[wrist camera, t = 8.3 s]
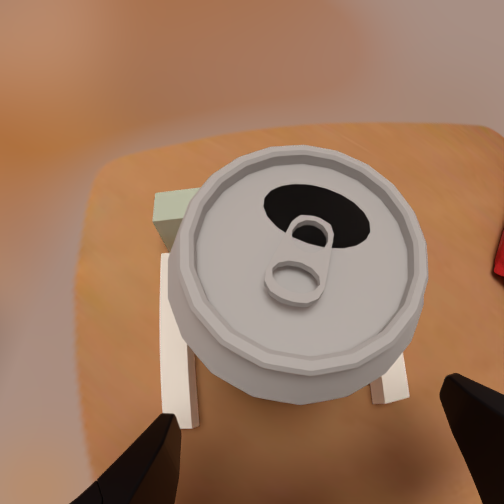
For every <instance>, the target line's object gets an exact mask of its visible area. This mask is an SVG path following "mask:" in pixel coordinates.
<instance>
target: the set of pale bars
mask: <svg viewBox="0 0 504 504" xmlns="http://www.w3.org/2000/svg"><path fill="white" fill-rule="evenodd" d="M199 189H200V188H193V189H185V190H177V191H169V192H161V193H155V202H154V212H153V223H154V225H155V227H156V229H157V231H158V233H159V234H160V236H161V238H162V240H163V242H164V243H165V245H166V247H167V249H168V251H169V252H171V249H172V246H173V244H174V241H175V238H176V235H177V232H178V230H179V227H180V224H181V222H182V219H183V217H184V214H185V212H186V209H187V206H188V204H189V201H190V200H191V199H192V198H193V196H194V195H195V194H196V193H197V191H198V190H199ZM169 255H170V253H163V254H161V274H160V370H161V393H162V410H163V413H173V414H175V416H176V418H177V421H178V424H179V427H180V429H193V428H195V427H197V426H200V425H199V413H198V400H197V386H196V369H195V353H194V352H193V351H192V349H191V348H190V347H189V346H188V345H187V343H186V342H185V341H184V340H183V338H182V336H181V334H180V331H179V328H178V325H177V323H176V320H175V317H174V314H173V312H172V309H171V306H170V303H169V300H168V258H169ZM370 387H371V394H372V402H373V404H386V403H390V402H394V401H398V400H401V399H405V398H408V397H409V389H408V382H407V376H406V369H405V363H404V358H403V353H402V354H401V355H400V356H399V358H398V359H397V360H396V361H395V363H394V364H393V365H392V366H391V367H390V369H389V370H388V371H387V372H386V373H385V374H384V375H382V376H381V377H379V378H378V379H376V380H374V381H373V382H371V383H370Z"/></svg>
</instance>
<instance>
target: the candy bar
mask: <svg viewBox="0 0 504 504" xmlns="http://www.w3.org/2000/svg"><path fill="white" fill-rule="evenodd" d="M494 263H495V268H494V273H496V274H499V275H501V276H504V230H503V233H502V237H501V240H500V244H499V247H498V250H497V254H496V258H495V262H494Z"/></svg>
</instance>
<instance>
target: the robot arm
mask: <svg viewBox="0 0 504 504" xmlns="http://www.w3.org/2000/svg"><path fill="white" fill-rule="evenodd" d="M440 400H441V403H442V406H443V408H444V411H445V414H446V417H447V420H448V422H449V425H450V428H451V431H452V433H453V435H454V438H455V440H456V442H457V444H458V446H459V448H460V450H461V453H462V455H463V457H464V459H465V462H466V464H467V466H468V469H469V471H470V473H471V476H472V478H473V480H474V483H475V485H476V488H477V490H478V493H479V495H480V498H481V500H482V503H483V504H504V395H503V394H501V393H499V392H497V391H494V390H492V389H490V388H488V387H486V386H484V385H481V384H479V383H477V382H475V381H473V380H471V379H469V378H466V377H464V376H462V375H460V374H458V373H453V374H450V375H447V376H446V377H445V379H444V382H443V385H442V388H441V390H440ZM180 450H181V429H180V427H179V424H178V421H177V418H176V416H175V414H173V413H162V414H160V415H159V416H158V417H157V418H156V420H155V421H154V422H153V423H152V424H151V425H150V426H149V427H148V428H147V429H146V430H145V431H144V432H143V433H142V434H141V435H140V436H139V437H138V438H137V439H136V440H135V441H134V443H133V444H132V445H131V446H130V447H129V448H128V449H127V450H126V451H125V452H124V453H123V454H122V455H121V456H120V457H119V458H118V459H117V460H116V461H115V462H114V463H113V464H112V465H111V466H110V467H109V468H108V469H107V470H106V471H105V472H104V473H103V474H102V475H101V476H100V477H99V478H98V479H97V481H95V482H94V483H93V484H92V485H91V486H90V487H89V488H87V489H86V490H85V491H84V492H83V493H82V494H81V495H80V496H79V497H78V498H76V499H75V500H74V501H72V502H71V503H70V504H174V503H175V497H176V491H177V486H178V480H179V470H180Z"/></svg>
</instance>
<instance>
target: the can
mask: <svg viewBox="0 0 504 504" xmlns="http://www.w3.org/2000/svg"><path fill="white" fill-rule="evenodd" d="M427 282H428V259H427V244H426V241H425V238H424V236H423V233H422V230H421V228H420V225H419V222H418V220H417V217H416V215H415V212H414V211H413V209H412V208H411V207H410V205H409V204H408V203H407V201H406V200H405V199H404V197H403V196H402V195H401V193H400V192H399V191H398V190H397V188H396V187H395V186H394V185H393V184H392V183H391V182H390V181H388V180H387V179H386V178H384V177H383V176H382V175H381V174H379V173H378V172H377V171H375V170H374V169H373V168H371V167H370V166H369V165H367V164H365V163H363V162H361V161H359V160H357V159H354V158H352V157H350V156H348V155H345V154H343V153H341V152H338V151H335V150H330V149H324V148H319V147H313V146H307V145H293V146H277V147H269V148H265V149H262V150H259V151H256V152H253V153H250V154H247V155H244V156H241V157H238V158H237V159H235V160H233V161H232V162H230V163H229V164H227V165H226V166H224V167H223V168H221V169H220V170H218V171H217V172H215V173H214V174H212V175H211V176H210V177H209V178H208V179H207V181H206V182H205V183H204V184H203V185H202V187H201V188H200V189H199V190H198V191H197V193H196V194H195V195H194V196H193V198H192V199H191V200H190V201H189V204H188V206H187V209H186V212H185V214H184V217H183V219H182V222H181V224H180V227H179V230H178V232H177V235H176V238H175V241H174V244H173V246H172V249H171V252H170V255H169V258H168V300H169V303H170V306H171V309H172V312H173V314H174V317H175V320H176V323H177V325H178V328H179V331H180V334H181V336H182V338H183V340H184V341H185V342H186V343H187V345H188V346H189V347H190V348H191V349H192V351H193V352H194V353H195V354H196V355H197V357H198V358H199V359H200V360H201V361H202V362H203V364H204V365H205V366H206V367H207V368H208V369H209V371H210V372H211V373H213V374H214V375H216V376H218V377H219V378H221V379H223V380H224V381H226V382H228V383H229V384H231V385H233V386H235V387H236V388H238V389H240V390H242V391H244V392H245V393H247V394H249V395H251V396H253V397H257V398H262V399H268V400H273V401H279V402H285V403H291V404H297V405H304V404H310V403H316V402H322V401H327V400H332V399H337V398H342V397H347V396H349V395H351V394H352V393H354V392H356V391H358V390H359V389H361V388H363V387H364V386H366V385H368V384H369V383H371V382H373V381H374V380H376V379H378V378H379V377H381V376H382V375H384V374H385V373H386V372H387V371H388V370H389V369H390V367H391V366H392V365H393V364H394V363H395V361H396V360H397V359H398V358H399V356H400V355H401V354H402V353H403V351H404V350H405V349H406V347H407V346H408V345H409V343H410V342H411V340H412V338H413V335H414V332H415V329H416V326H417V323H418V320H419V317H420V314H421V311H422V308H423V304H424V292H425V289H426V285H427Z"/></svg>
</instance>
